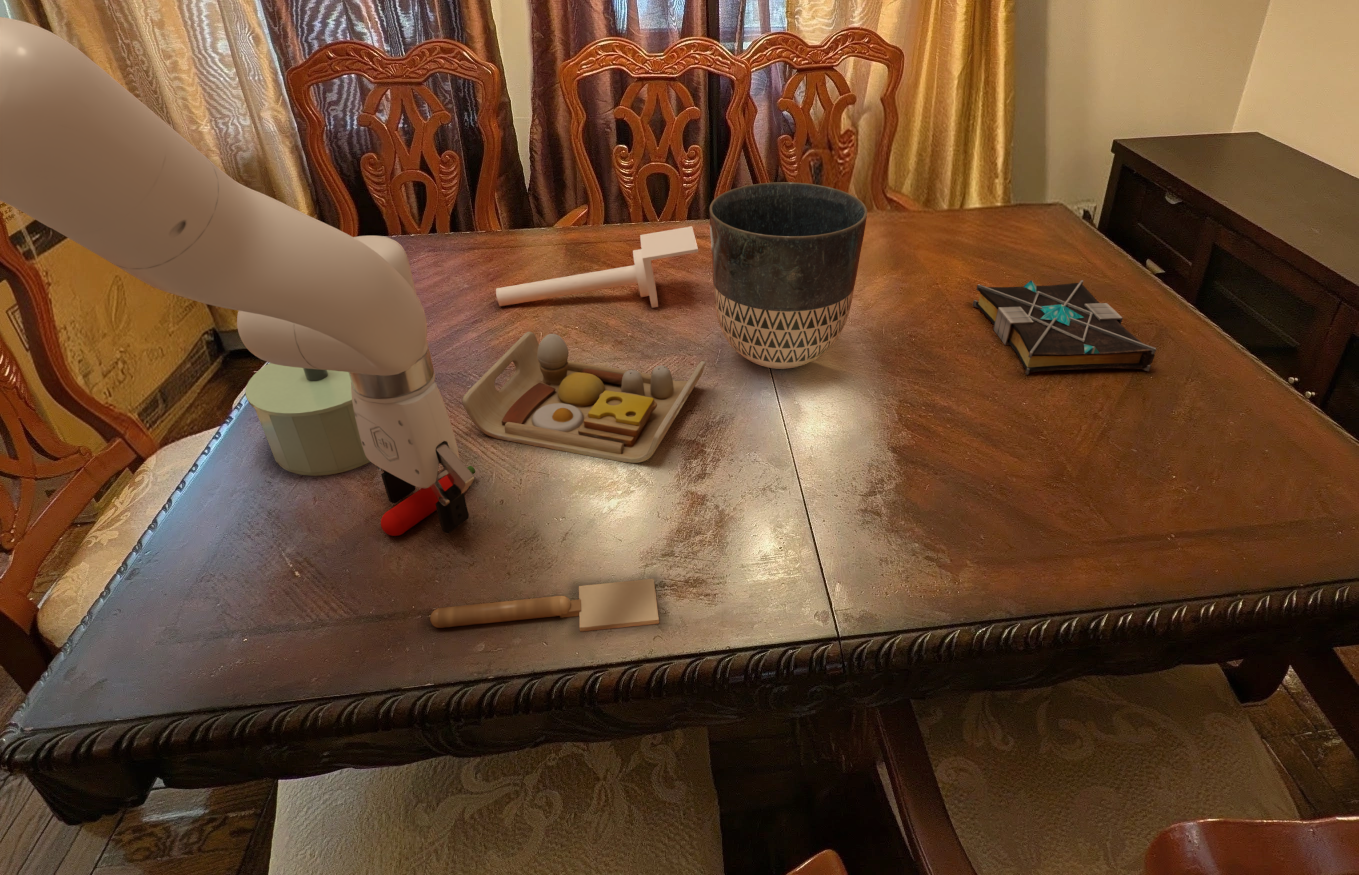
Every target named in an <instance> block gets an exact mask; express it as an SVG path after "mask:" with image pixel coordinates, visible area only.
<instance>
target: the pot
mask: <svg viewBox="0 0 1359 875" xmlns="http://www.w3.org/2000/svg"><path fill="white" fill-rule="evenodd" d="M254 410H255V412H256V416H257V418H258V420H259V422H260V425H261V428H262V430H263V432H264V435H265V438H266V440H267V443H268V445H269V448H270V450H271V453H272V455H273V456H272V457H273V458H274V460H275V462H276V464H278V465H279V466H280V467H281V468H282V469H284V470H285V471H288V472H289V473H293V474H296V475H301V476H310V477H311V476H313V477H314V476H315V477H318V476H330V475H335V474H340V473H345V472H348V471H352V470H354V469H358V468H360V467H363V466H364V465H366V464H368V463H371V462H370V461H369V460H368V458H367V457H366V455H365V453H364V450H363V446H362V443H361V439H360V435H359V431H358V427H357V423H356V419H355V414H354V409H353V403H352V404H349V405H347V406H344V407H342V408H339V409H336V410H332V411H329V412H325V413H320V414H315V415H308V416H298V417H283V416H275V415H269V414H266V413H263V412H260V411H258V410H256V409H255V408H254Z"/></svg>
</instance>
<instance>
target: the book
mask: <svg viewBox="0 0 1359 875" xmlns="http://www.w3.org/2000/svg"><path fill="white" fill-rule="evenodd" d="M1083 284H1084V280H1083V279H1081V280H1080V281H1079V282H1073V283H1062V284H1061V283H1059V284H1050V285H1049V284H1047V285H1036V283H1034V280H1032V279H1031V280H1029V281H1028V282H1027V283H1026V284H1024V285H1023V286H986V285H982V284H977V285H976V291H977V292H979V293H980V294H979V300H976V299H974V300H973V302H972V306H973V307H975V308H977V309H979V310H980V311H981V312H982V314H983V315H985V317H986V318H987V319H988V320H989V321H990V323H992V325H993V328H992V329H993V330H992V331H994V333H995V334H996V335H997V336H998V338H999V339H1000V341H1001V342H1002V343H1003V344H1004V346H1010V347H1011V348H1012V349H1013V350H1014V352H1015V353H1016V355H1017V357H1018V358H1019V361H1020V362H1021V364H1022V366H1023V368H1024V370H1025V373H1024V374H1025V375H1027V376H1028V375H1029V374H1030V373H1035V372H1036V373H1037V372H1050V371H1051V372H1052V371H1064V370H1065V371H1066V370H1070V371H1071V370H1095V369H1096V370H1097V369H1099V370H1100V369H1131V370H1132V369H1137V370H1138V369H1141V370H1143V371H1145V372H1150V370H1151V367H1152V363H1153V362H1154V359H1155V354H1156V352H1157V347H1154V346H1151V345H1149V344H1146V343H1144V342H1142V341H1141V340H1140V339H1138V338H1137V337H1136V336H1135V335H1134V334H1133V333H1131V332H1130V331H1129V330H1127V329H1126V328H1125V327H1124V325H1122V321H1123V319H1124V318H1123V316H1121V315H1120V314H1119V313H1118V312H1117V310H1115V309H1114V307H1112V306H1110V304H1109V303H1108V302H1099V301H1098V300H1097V298H1095V296H1094V295H1093V294H1092V293H1091V292H1090V291H1089V290H1088V289H1087V287H1086V286H1085V284H1084V285H1083Z"/></svg>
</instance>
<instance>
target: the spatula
mask: <svg viewBox="0 0 1359 875" xmlns="http://www.w3.org/2000/svg"><path fill="white" fill-rule="evenodd" d="M658 610H659V609H658V602H657V594H656V585H655V579H654V578H647V579H635V580H626V581H615V582H605V583H594V584H588V585H587V584H584V585H579V586H578V599H569V597H567V596H565V595H554V596H545V597H535V598H525V599H514V600H505V601H504V600H503V601H495V602H483V603H473V604H465V605H453V606H444V607H437V608H435V609H434V610H432V612H431V613H430V616H429V621H430V623H431V625H432V626H433V627H435V628H437V629H445V628H452V627H463V626H472V625H474V626H475V625H482V624H492V623H501V622H502V623H504V622H512V621H522V620H523V621H524V620H532V619H533V620H534V619H543V618H551V617H560V618H561V619H562V618H571V617H572V618H573V617H579V618H578V619H579V620H578V624H579V625H578V626H579V631H580V633H581V632H589V631H600V630H608V629H609V630H610V629H619V628H630V627H640V626H650V625H656V624H657V625H658V624H660V619H659V611H658Z"/></svg>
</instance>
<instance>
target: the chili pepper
mask: <svg viewBox="0 0 1359 875" xmlns="http://www.w3.org/2000/svg"><path fill="white" fill-rule="evenodd" d="M466 467H467V468H468V469H469V470H470V471H471V473H472V474H473V475H474V474H475V473H476V469H475V467H474V466H473V465H468V466H466ZM438 481H439V483H440V484H441V486H442V488H443V489H444V491H446V490H447V489H448V488H450V487H451V486H452V483H451V481H450V480H449V478H448V476H447V475H446V476H444V477H443V478H441V479H440V480H438ZM438 501H439V500H438V499H437V497H436V496H435V494H434V492H433V491H432V489H431V488H430V487H428V488H419V489H418V490H417V491H414V493H411V495H408V496H407V498H406V497H405V498H404V499H402V501H401V502H400V501H399V503H397V504H396V505H394V506H393V507H392V508H390V509H388V510H386V512H384V513H383V515H382V517H381V519H380V526H381V529H382V531H383V532H384V533H385V534H386V535H388V536H391V537H393V536H394V537H396V536H397V537H398V536H401V535H403V534H404V533H406V532H407V531H408V530H410V529H411V528H413V527H414V526H416V525H417V524H419V523H420V522H421V521H423V520H424V519H425V518H427V517H429V516H430V515H431V514H433V513H434V512H436V511H437V508H436V505H435V504H436V503H437V502H438Z"/></svg>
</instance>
